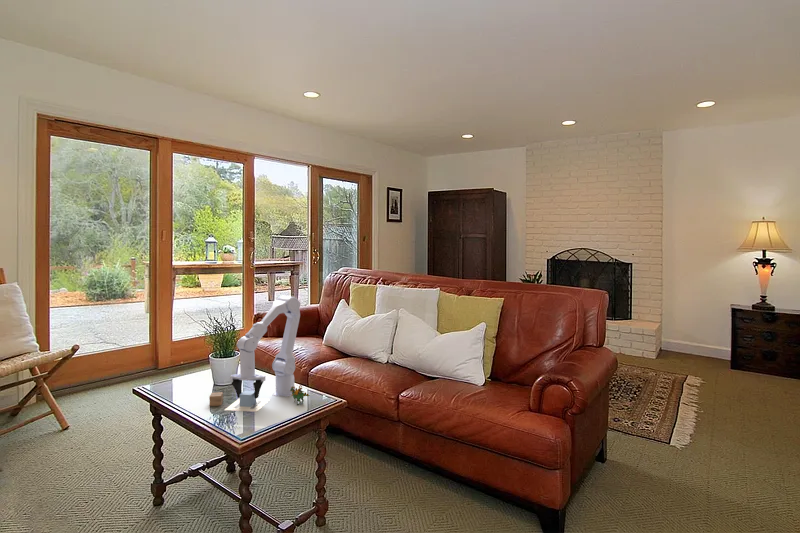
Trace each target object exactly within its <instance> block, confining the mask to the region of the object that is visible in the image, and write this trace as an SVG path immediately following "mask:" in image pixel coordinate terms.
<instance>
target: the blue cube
mask: <svg viewBox="0 0 800 533" xmlns="http://www.w3.org/2000/svg"><path fill="white" fill-rule="evenodd" d="M255 403H256V398H255V390H247V389H245V390H243V391H242V393H241V394H240V406H242V407H252V406H253V405H254V404H255Z"/></svg>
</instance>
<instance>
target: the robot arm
mask: <svg viewBox="0 0 800 533" xmlns="http://www.w3.org/2000/svg"><path fill="white" fill-rule="evenodd" d="M300 308H301V302H300V300H299V299H298V298H297V297H296V296H288V295H287V296H286V295H283V294H282V295H281V294H280V295H279V296H278V297H276V299H275V300H273V303H272V306H271V307H270V309H269V310H268V311H267V313H266V314H265V315H264V316H263V317H262V319H261V321H259V322H257V321H256V322H255V323H253V324H252V327H251V328H250V330H249V331H248V332H246V333H245V335H244V336H241V337H240V338H239V339H238V341H237V343H236V347H237V349H238V350H239V365H240V366H239V367H240V368H239V369H240V374H239V373H238V374H233V373H232V374H231V375H230V376H229V379H230V381H232V382H231V385H232V386H233V388H234V390H235V393H236V395H237V396H236V397H237V399H239V398H240V394H241V393H242V392H243V390H242V384H243V381H252V382H253V384H252V385H253V391H255V398H259V397H260V396H259V395H260V390H261V387H262V386H263V384H264V382H265V381H266V375H264V374H263V375H262V374H261V375H260V374H256V370H255V369H256V368H255V367H256V366H255V365H256V364H255V363H256V361H255V356H256V355H255V350H257V348H258V345H259V344H258V343H259V341H260V340H261V339H262V338H263V336H264V335H265V334H266V333H267V332H268V326H269V325H270V324H271V323H273V321H274V320H275V319H276V318H277V317H278V316H279V315H281V314H284V315H285V316H286V323H285V327H284V332H283V337H282V342H281V347H280V349H279V350H280V351H278V353H277V354H276V355H275V358H274V360H273V361H272V364H271V367H272V370H273V371H274V374H275V392H274V393H273V394H272V397H275V396H276V397H291V396H290V395H292V391H290V390H291V387H294V386H295V374H294V372H295V371H296V358H295V356H294V354H293V352H294V347H295V342H296V339H297V338H296V337H297V334H298V333H297V332H298V328H299V324H300V318H301V311H300ZM293 389H294V388H293ZM294 390H295V391H296V388H295V389H294Z"/></svg>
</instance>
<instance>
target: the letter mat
mask: <svg viewBox="0 0 800 533" xmlns="http://www.w3.org/2000/svg"><path fill="white" fill-rule="evenodd" d="M270 400H271V398H259V397H258V398H256V403H255V404H254V405H253V406H252V407H242V406H240V398H237V400H235V401H234V402H232V403H231V404H230V405H228V406H227V407H226V408H224V411H234V412H235V411H236V412H237V411H238V412H254V413H255V412H259V410H261V409H262V408H263V407H265V405H266V404H268V402H270Z"/></svg>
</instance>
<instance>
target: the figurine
mask: <svg viewBox="0 0 800 533" xmlns="http://www.w3.org/2000/svg"><path fill="white" fill-rule="evenodd" d="M293 388H294V389H296V390H294V389H293ZM290 391H292V394H291V395H290V396H289V397H292V398H293V399H294V400H293V401H294V403H296V402H298V403H297V405H300V406H301V404H304V397H311V395H309V393H307V392H306V391H304V390H303V386H302V385H301V384H300V385H299V386H298V388H297V387H296V386H295V385H294V387H291V390H290Z"/></svg>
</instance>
